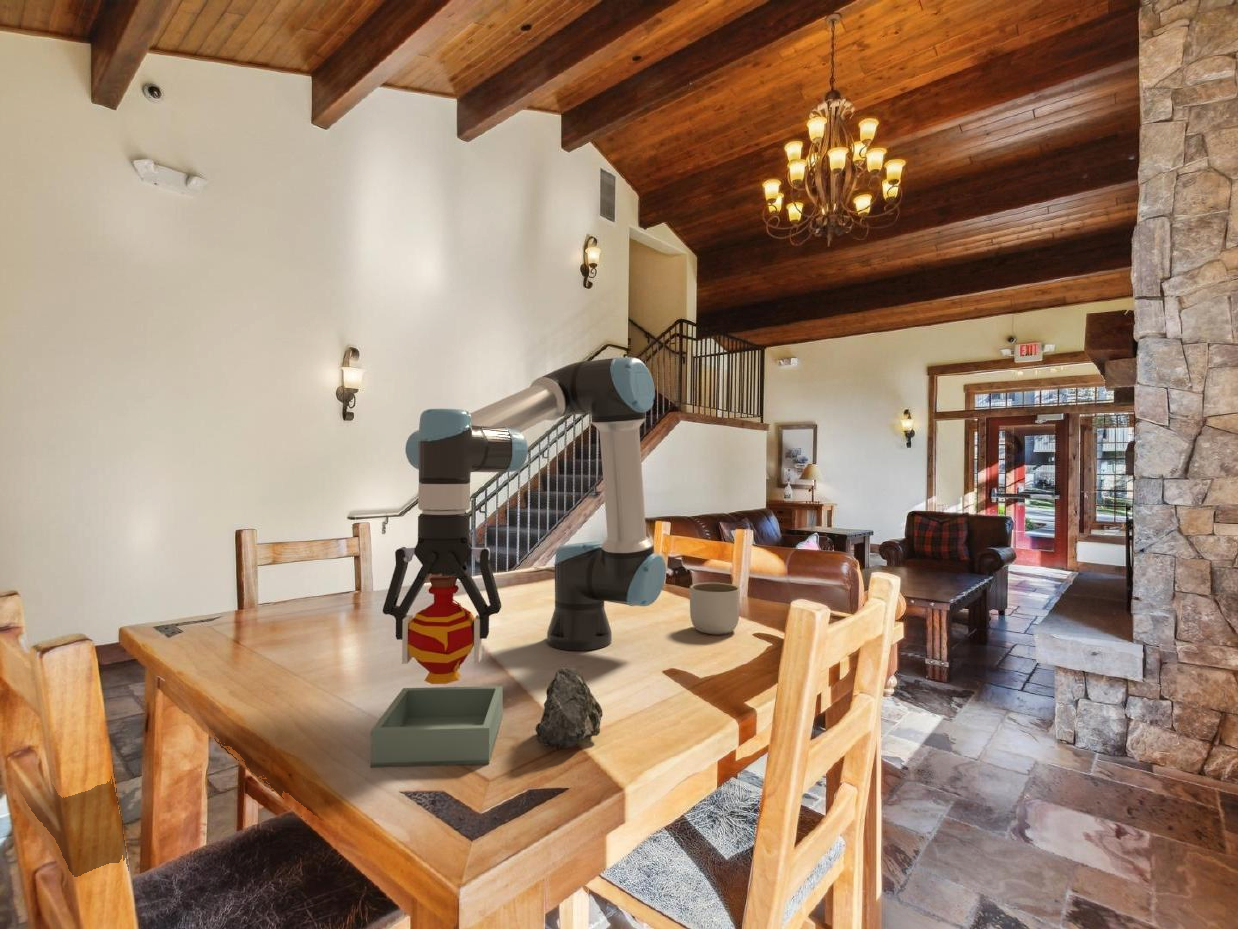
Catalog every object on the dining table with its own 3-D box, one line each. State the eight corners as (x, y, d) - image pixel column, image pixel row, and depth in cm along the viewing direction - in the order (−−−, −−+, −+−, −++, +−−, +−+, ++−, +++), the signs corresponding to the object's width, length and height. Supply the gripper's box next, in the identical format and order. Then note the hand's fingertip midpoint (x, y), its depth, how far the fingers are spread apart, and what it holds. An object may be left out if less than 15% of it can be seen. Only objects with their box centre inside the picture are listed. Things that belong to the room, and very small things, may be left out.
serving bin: (502, 716, 101) (502, 686, 101) (489, 764, 85) (489, 728, 85) (403, 718, 100) (403, 688, 100) (370, 767, 84) (370, 730, 84)
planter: (703, 621, 163) (704, 580, 163) (747, 629, 156) (747, 586, 156) (680, 632, 153) (680, 588, 153) (726, 640, 145) (726, 594, 145)
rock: (538, 703, 100) (555, 655, 96) (595, 718, 100) (613, 671, 97) (526, 764, 88) (544, 712, 85) (589, 781, 89) (610, 730, 86)
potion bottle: (490, 671, 95) (491, 575, 95) (451, 694, 86) (452, 587, 86) (433, 663, 99) (434, 570, 99) (389, 685, 89) (391, 581, 89)
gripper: (521, 510, 97) (519, 651, 97) (376, 509, 95) (374, 653, 95) (516, 514, 89) (515, 667, 89) (359, 513, 88) (357, 669, 88)
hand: (442, 660), depth 92 cm, fingers closed on potion bottle, 10 cm apart
